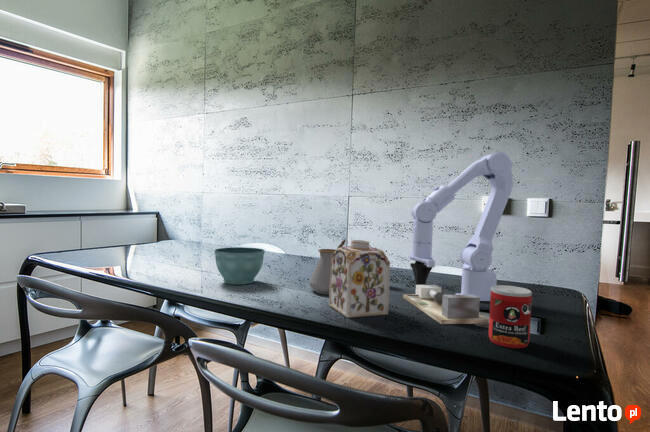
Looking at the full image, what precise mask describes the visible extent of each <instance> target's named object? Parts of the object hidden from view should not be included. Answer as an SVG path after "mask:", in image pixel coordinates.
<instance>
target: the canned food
mask: <svg viewBox="0 0 650 432" xmlns="http://www.w3.org/2000/svg"><path fill="white" fill-rule="evenodd" d="M532 303H533V292H532V290H530V289H528V288H525V287H520V286H515V285H505V284H503V285H501V284H498V285H496V286H492V287H491V294H490V301H489V315H488V316H489V317H488V319H489V323H488V338H489V341H490V342H491V343H493V344H494V345H497V346H501V347H504V348H507V349H525V348H527V347H528V346H529V344H530V340H531V339H530V335H531V321H532V319H531V318H532V317H531V316H532V305H533V304H532Z"/></svg>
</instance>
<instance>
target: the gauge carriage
mask: <svg viewBox="0 0 650 432" xmlns="http://www.w3.org/2000/svg"><path fill="white" fill-rule="evenodd" d="M443 295H445V293H444V292H442V287H441V286H438V285H437V284H425V285H416V284H415V295H407V296H418V297H420V298H434V300H435V302H437V303H439V304H441V303H442V300H443Z"/></svg>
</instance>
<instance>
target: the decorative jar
mask: <svg viewBox="0 0 650 432" xmlns="http://www.w3.org/2000/svg"><path fill="white" fill-rule="evenodd" d="M337 248H338V247H337ZM337 248H336V249H335V250H336V251H335V253H333V255H332V257H331V270H330V293H329V294H328V295H329V299H328V300H329V301H328V302H329V303H328V305H329V306H330V307H331V308H333V309H334V310H335V311H336V312H338V313H340V314H341V315H343V316H344V317H345V318H349V319H350V318H351V319H352V318H362V317H372V316H384V315H389V302H390V281H391V280H390V277H391V274H390V272H391V262H390V260H389V258H388V257H387V256H386V255H387V254H386V253H385V252H384V250H383V249H380V248H376V247H372V246H370V241H368V240H362V239H361V240H359V239H352V240H351V241H350V246H349V245H348V246H347V245H344V246H342V247H340V248H338V249H337Z"/></svg>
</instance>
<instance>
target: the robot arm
mask: <svg viewBox="0 0 650 432" xmlns="http://www.w3.org/2000/svg"><path fill="white" fill-rule="evenodd" d="M513 165H514V164H513V162H512V160H511V158H510V157H509V156H508V154H507V153H505V152H503V151H495V152H493V153H491V154H485V155H482V156H481V157H480V158H478V159H477V160H475V161H474V162H472V163H471V164H469V165H468V167H467V168H465V169H463V171H462V172H461V173H460V174H458V176H456V177H455V178H454V179H453V180H451V182H450V183H449V184H448V185H444V184H443V185H440V186H438V185H437V186H436V187H433V190H434V191H433V192H431V194H429V195H428V196H427V197H423V198H422V199H421V200H422V202H419V203H416V204H415V205H414V206H413V209H412V210H411V216H412V218H413V227H412V249H411V253H409V256H408V258H407V259H408V260H410V261H414V262H412V263H409V264H410V268H411V269H412V272H413V277H414V281H415V282H414V283H415V286H416V285H427V280H428V278H429V275H430V272H431V271H432V269H434V268H436V260H435V259H434V258H433V256H432V252H433V231H434V229H433V224H434V221H433V220H435V219H436V216H437V214H438V213H440V212H442V210H443V209H444V208H446V207H447V206H448V205H449V204H450V203H452V202H453V201H454V200H455V196H456V193H457V192H459V191H460V190H461V189H463V188H464V187H465V186H466V185H468V184H469V183H471V182H472V181H473V180H474V179H476V178H478V177H481V176H482V177H484V178H485V179H486V180H487V181H488V182H489V184H490V185H491V190H490V192H489V195H488V198H487V200H486V203H485V206H484V208H483V211H482V213H481V216H480V218H479V220H478V223H477V226H476V228H475V231H474V234H473V236H471V238H469V240H468V241H467V244H466V246H464V247H463V248H462V249H461V251H460V255H459V258H460V260H461V262H462V263H463V265H462V269H461V288H460V290H461V291H460V292H459V293H455V294H454V295H475V296H477V297H480V302H490V294H491V287H492V286H496V285H497V284H498V283H497V282H498V278H497V275H496V273H495V271H494V270H493V269H489V267H491V265H492V261H493V259H492V258H493V257H492V256H493V254H492V253H493V250H494V245H493V240H494V236H495V233H496V231H497V230H498V227H499V223H500V222H501V218H502V216H503V214H504V211H505V208H506V205H507V204H508V200H509V198H510V195H511V192H512V190H513V188H514V180H513V172H512V171H513V170H512V168H513Z"/></svg>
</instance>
